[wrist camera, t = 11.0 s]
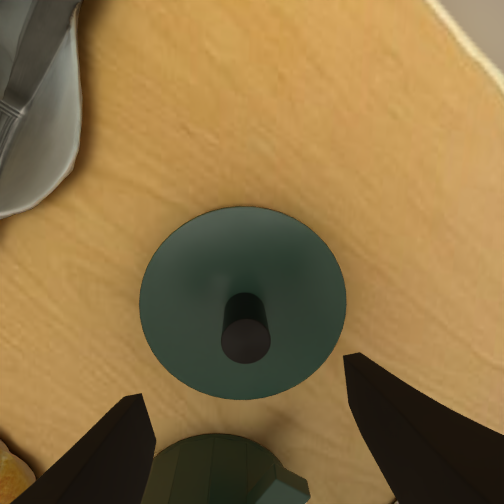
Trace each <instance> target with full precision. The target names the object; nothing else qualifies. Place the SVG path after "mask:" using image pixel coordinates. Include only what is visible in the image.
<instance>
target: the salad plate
mask: <svg viewBox="0 0 504 504" xmlns="http://www.w3.org/2000/svg"><path fill="white" fill-rule="evenodd" d="M82 1H83V0H0V219H3V218H6V217H9V216H11V215H14V214H19V213H21V212H25V211H27V210H30V209H33V208H34V207H35V206H37V205H38V204H39V203H40V202H41V201H42V200H43V199H45V198H46V197H47V196H48V195H49V194H50V193H51V192H52V191H53V190H54V189H55V188H56V187H57V186H58V185H59V184H60V183H61V182H62V181H63V180H64V178H66V177H67V176H68V175H69V174H70V173H71V172H72V171H73V168H74V164H75V160H76V157H77V154H78V152H79V147H80V134H81V127H82V100H83V97H82V90H81V81H80V65H79V54H78V40H77V30H78V16H79V11H80V7H81V4H82Z"/></svg>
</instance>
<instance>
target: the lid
mask: <svg viewBox="0 0 504 504" xmlns="http://www.w3.org/2000/svg"><path fill="white" fill-rule="evenodd" d="M346 305H347V304H346V289H345V284H344V279H343V276H342V273H341V270H340V267H339V265H338V263H337V261H336V259H335V257H334V255H333V254H332V252H331V251H330V249H329V248H328V246H327V245H326V244H325V243H324V242H323V240H322V239H321V238H320V237H319V236H318V235H317V234H316V233H315V232H313V231H312V230H311V229H310V228H308V227H307V226H306V225H304V224H303V223H301V222H299V221H298V220H296V219H294V218H292V217H290V216H288V215H286V214H283V213H281V212H278V211H275V210H271V209H268V208H261V207H255V206H235V207H226V208H221V209H217V210H213V211H210V212H207V213H205V214H202V215H200V216H197V217H196V218H194V219H192V220H190V221H189V222H187V223H185V224H184V225H182V226H181V227H180V228H178V229H177V230H176V231H174V232H173V233H172V234H171V235H170V236H169V237H168V238H167V239H166V240H165V241H164V242H163V243H162V244H161V246H160V247H159V248H158V250H157V251H156V252H155V254H154V255H153V257H152V259H151V261H150V263H149V264H148V266H147V269H146V272H145V274H144V277H143V280H142V285H141V290H140V300H139V309H140V319H141V324H142V328H143V332H144V334H145V337H146V340H147V342H148V344H149V346H150V348H151V350H152V352H153V353H154V355H155V356H156V357H157V359H158V360H159V362H160V363H161V364H162V365H163V366H164V367H165V368H166V369H167V370H168V372H170V373H171V374H172V375H173V376H174V377H176V378H177V379H178V380H179V381H181V382H183V383H184V384H186V385H187V386H189V387H191V388H193V389H195V390H197V391H199V392H202V393H205V394H208V395H211V396H214V397H219V398H224V399H233V400H251V399H259V398H264V397H268V396H272V395H276V394H278V393H281V392H284V391H286V390H288V389H290V388H292V387H294V386H296V385H298V384H299V383H301V382H302V381H304V380H305V379H307V378H308V377H309V376H310V375H312V374H313V373H314V372H315V371H316V370H317V369H318V368H319V367H320V366H321V365H322V364H323V363H324V362H325V361H326V359H327V358H328V356H329V355H330V354H331V352H332V351H333V349H334V347H335V345H336V343H337V341H338V339H339V337H340V334H341V331H342V329H343V324H344V320H345V315H346Z"/></svg>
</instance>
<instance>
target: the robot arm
mask: <svg viewBox="0 0 504 504" xmlns="http://www.w3.org/2000/svg"><path fill="white" fill-rule="evenodd" d="M343 360H344V369H345V377H346V386H347V394H348V403H349V406H350V409H351V411H352V414H353V416H354V419H355V421H356V423H357V426H358V428H359V430H360V433H361V435H362V437H363V439H364V441H365V442H366V444H367V446H368V448H369V450H370V452H371V453H372V455H373V457H374V459H375V461H376V463H377V464H378V466H379V468H380V470H381V472H382V473H383V475H384V477H385V479H386V481H387V483H388V484H389V486H390V488H391V490H392V492H393V493H394V495H395V497H396V499H397V501H396V502H395V503H394V504H504V435H502V434H500V433H498V432H495V431H493V430H491V429H489V428H487V427H485V426H483V425H481V424H479V423H477V422H475V421H473V420H471V419H469V418H467V417H465V416H463V415H461V414H459V413H457V412H455V411H453V410H451V409H449V408H447V407H446V406H444V405H442V404H440V403H439V402H437V401H435V400H433V399H432V398H430V397H428V396H426V395H425V394H423V393H421V392H420V391H418V390H416V389H415V388H413V387H411V386H410V385H408V384H407V383H405V382H404V381H402V380H400V379H399V378H397V377H396V376H394V375H393V374H391V373H390V372H388V371H387V370H385V369H384V368H382V367H381V366H379V365H378V364H376V363H375V362H374V361H372V360H371V359H369V358H368V357H366V356H365V355H363V354H362V353H360V352H359V353H354V354H349V355H343ZM155 445H156V438H155V435H154V431H153V428H152V425H151V422H150V419H149V415H148V412H147V409H146V406H145V403H144V399H143V396H142V393H140V394H135V395H130V396H125V397H123V398H122V399H121V400H120V401H119V402H118V403H117V404H116V405H115V406H114V407H112V408H111V409H110V410H109V411H108V412H107V413H106V414H105V415H104V416H103V417H102V418H101V419H100V420H99V421H98V422H97V423H96V424H95V425H94V426H93V427H92V428H91V429H90V430H89V431H88V432H87V433H86V434H85V435H84V436H83V437H82V438H81V439H80V440H79V441H78V442H77V443H76V444H75V445H74V446H73V447H72V448H71V449H70V450H69V451H68V452H67V453H65V454H64V455H63V456H62V457H61V458H60V459H59V460H58V461H57V462H56V463H55V464H54V465H52V466H51V467H50V468H49V469H48V470H47V471H46V472H45V473H44V474H43V475H42V476H41V477H40V478H38V479H37V480H36V481H35V482H34V483H33V484H32V485H31V486H30V487H28V488H27V489H26V490H25V491H24V492H23V493H21V494H20V495H19V496H18V497H17V498H16V499H14V500H13V501H12V502H11V503H10V504H141V501H142V498H143V495H144V491H145V488H146V485H147V482H148V478H149V475H150V471H151V466H152V461H153V456H154V451H155Z"/></svg>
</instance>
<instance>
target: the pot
mask: <svg viewBox="0 0 504 504" xmlns="http://www.w3.org/2000/svg"><path fill="white" fill-rule="evenodd" d="M310 497H311V496H310V492H309V488H308V483H307V480H306V479H304V478H302V477H300V476H298V475H296V474H295V473H293V472H291V471H289V470H287V469H285V468H284V467H283V466H282V464H281V463H280V461H279V460H278V459H277V458H276V457H275V456H274V455H273V454H272V453H271V452H270V451H269V450H267V449H266V448H264V447H263V446H261V445H260V444H258V443H256V442H253V441H251V440H249V439H246V438H242V437H239V436H234V435H227V434H206V435H199V436H195V437H191V438H187V439H185V440H182V441H179V442H177V443H175V444H173V445H171V446H169V447H168V448H166V449H165V450H163V451H162V452H161V453H160V454H159V455H157V456H156V457H155V458H154V459H153V461H152V466H151V471H150V475H149V478H148V482H147V485H146V488H145V491H144V495H143V498H142V501H141V504H305V503H306V502H307V501H308V500H309V499H310Z"/></svg>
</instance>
